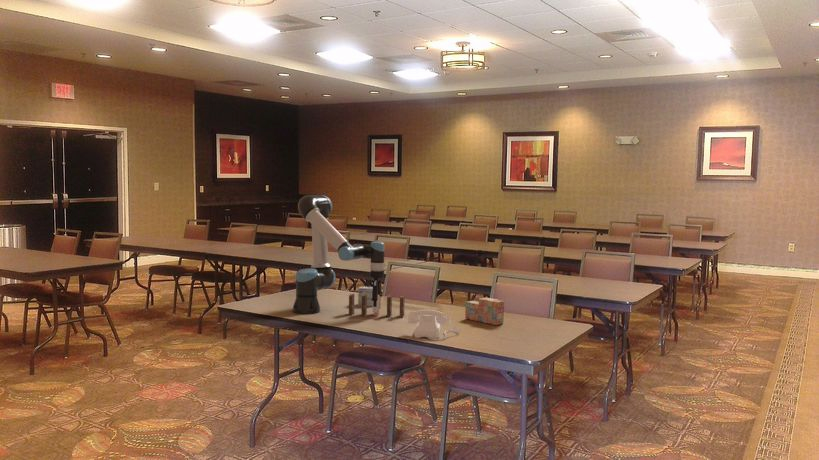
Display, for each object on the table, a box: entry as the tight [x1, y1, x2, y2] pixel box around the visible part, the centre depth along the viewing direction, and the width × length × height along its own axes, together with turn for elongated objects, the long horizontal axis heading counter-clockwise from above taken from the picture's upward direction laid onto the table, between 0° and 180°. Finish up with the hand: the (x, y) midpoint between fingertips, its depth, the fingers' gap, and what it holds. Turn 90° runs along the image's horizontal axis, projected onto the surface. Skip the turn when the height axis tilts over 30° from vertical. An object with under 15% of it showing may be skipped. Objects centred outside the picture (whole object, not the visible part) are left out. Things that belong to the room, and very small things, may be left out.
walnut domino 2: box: [360, 294, 368, 317], centre depth 352 cm, size 2×6×11 cm, turn 173°
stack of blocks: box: [464, 297, 505, 326], centre depth 342 cm, size 21×6×12 cm, turn 45°
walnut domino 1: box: [348, 293, 355, 316], centre depth 353 cm, size 2×6×11 cm, turn 174°
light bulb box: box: [357, 286, 373, 307], centre depth 380 cm, size 11×7×11 cm, turn 84°
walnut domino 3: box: [386, 294, 393, 318], centre depth 350 cm, size 2×6×11 cm, turn 174°
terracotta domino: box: [373, 295, 380, 317], centre depth 351 cm, size 2×6×11 cm, turn 174°
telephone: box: [407, 309, 461, 341], centre depth 308 cm, size 25×21×12 cm
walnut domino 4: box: [399, 295, 406, 318], centre depth 349 cm, size 2×6×11 cm, turn 173°
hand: (376, 310), depth 351 cm, fingers open, 10 cm apart
